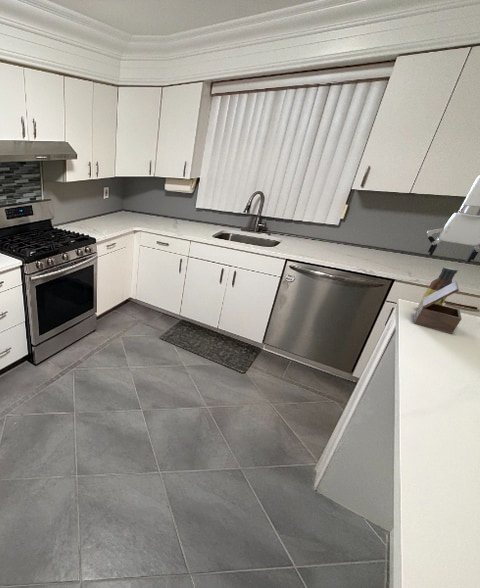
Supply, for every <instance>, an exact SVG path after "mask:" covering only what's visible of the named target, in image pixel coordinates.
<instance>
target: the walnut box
mask: <svg viewBox="0 0 480 588" xmlns="http://www.w3.org/2000/svg"><path fill="white" fill-rule="evenodd" d="M419 304H420V303H419ZM418 307H419V308H418ZM418 307H417V308H418V310H416V311H415V313H414V320H413V321H414V322H413V324H415V325H419V326H422V327H425V328H428V329H432V330H435V331H440V332H442V333H446V334H450V335H452V334H453V333H454V332H455V330H456V329H457V327H458V325H460V322H461V321H462V314H461V310H460V309H459V308H455V307H451V306H447V305H439V304H435V303H434V304H432V305H430V306H428V307H426V308H423V307H422V303H421V304H420V306H418Z"/></svg>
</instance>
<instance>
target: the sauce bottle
mask: <svg viewBox="0 0 480 588" xmlns="http://www.w3.org/2000/svg"><path fill="white" fill-rule="evenodd" d="M458 271H459V270H458V269H457V268H454V267H449V266H444V267H442V269H441V272H440V274H439V275H438V277H437V278H436V279H433V280H432V281H431V282H430V284H429V285H428V287H427V289H426V291H425V293H424V294H423V296H422V298H421V300H420V301H419V303H418V306H417V307H416V309H417V310H418V308H419V306H420V304H421V303H422V299H423V298H425V297H427V296H429V295H431V294H432V293H434V292H436V291H438V290H440V289H442V288H444V287H446V286H447V285H449V284H451V283H453V279H454V277H455V276H456V274H457V273H458ZM447 298H448V297H446V298H444V299H442V300H440V301H438V302H436V303H435V304H439V305H443V304H445V302H446V300H447ZM443 306H444V305H443ZM417 310H416V311H417Z"/></svg>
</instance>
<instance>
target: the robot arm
mask: <svg viewBox="0 0 480 588" xmlns="http://www.w3.org/2000/svg"><path fill="white" fill-rule="evenodd" d="M438 233H439V236H438V237H437V238H435V237H434V236H433V235H434V234H438ZM426 235H427V240H428V241H429V243H430V246H429V248H428V250H427V253H428V254H429V256H433V254H434V253H435V251H436V249H437V247H438V244H440V243H442V242H447V243H454V244H460V245H465V246H466V245H467V246H472V247H473V249H472V250H471V251H470V252H469V254H468V255H467V258H466V259H465V261H466V262H467V263H470V262H471V261H474V260H475V258H476V257H477V255H478V254H479V253H480V174H479V175H477V177H476V179H475V180H474V182H473V184H472V185H471V188H470V189H469V191H468V193H467V195H466V197H465V198H464V200H463V202H462V204H461V206H460V207H459V210H458V211H457V212H453V214H452V215H451V216H450V218H448V220H447V222H446V223H445V225H444V226H443V227H442V228H441V227H440V228H436V229H431V230H427V231H426Z"/></svg>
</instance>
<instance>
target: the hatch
mask: <svg viewBox="0 0 480 588" xmlns="http://www.w3.org/2000/svg"><path fill="white" fill-rule="evenodd" d="M459 291H460V288H459V285H458V282H457V281H452V283H451V284H449V285H447V286H446V287H444V288H442V289H440V290H438V291H436V292H434V293H432V294H431V295H429V296H427V297H425V298H423V297H422V298H423V299H422V298H421V300H422V307H423V308H426V307H428V306H430V305H432V304H434V303H436V302H438V301H440V300H442V299H444V298H446V297H447V298H448V297H450V296H451V295H453V294H455V293H457V292H459ZM447 298H446V299H447Z"/></svg>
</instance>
